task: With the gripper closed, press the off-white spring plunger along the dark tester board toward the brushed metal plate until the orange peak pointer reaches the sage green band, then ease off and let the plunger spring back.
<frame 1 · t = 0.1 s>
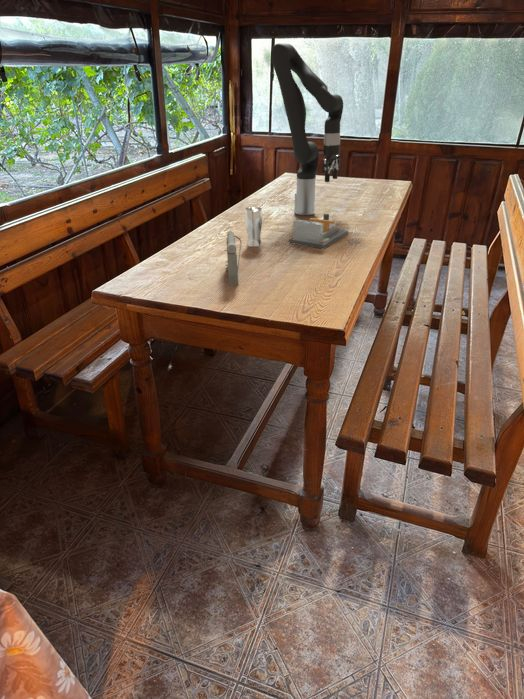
hand: (331, 180, 234), 17 cm above the table, tool pointing down, fingers open, 8 cm apart
tester base: (319, 238, 213), on the table
brushed metal plate: (308, 231, 202), point 6 cm above the table
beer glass: (254, 245, 206), on the table
peak pointer: (321, 226, 212), point 5 cm above the table, slide at 0.0 cm
geiger counter: (234, 278, 174), on the table
spring plunger: (325, 222, 214), point 5 cm above the table, slide at 0.0 cm
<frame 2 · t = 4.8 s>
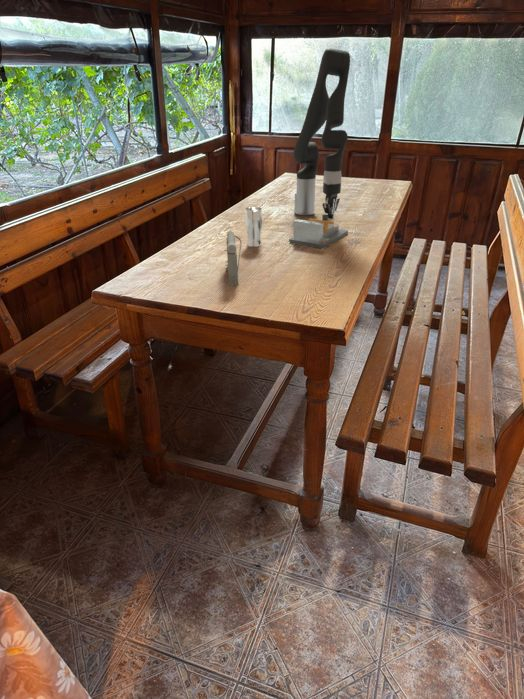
hand: (330, 222, 217), 5 cm above the table, tool pointing down, fingers closed
peak pointer: (321, 226, 211), point 5 cm above the table, slide at 0.9 cm, touching spring plunger
spring plunger: (324, 223, 213), point 5 cm above the table, slide at 1.2 cm, touching gripper, peak pointer
everything else where it was.
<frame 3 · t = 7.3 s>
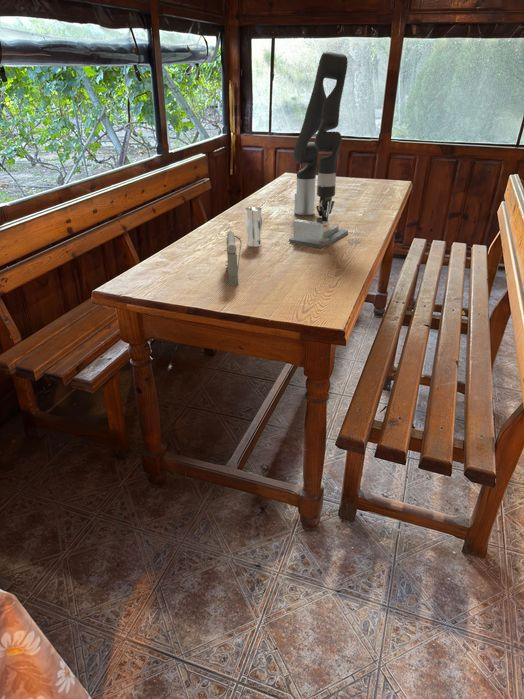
hand: (324, 225, 213), 5 cm above the table, tool pointing down, fingers closed
peak pointer: (314, 230, 207), point 5 cm above the table, slide at 6.9 cm
spring plunger: (319, 226, 210), point 5 cm above the table, slide at 6.5 cm, touching gripper
everything else where it was.
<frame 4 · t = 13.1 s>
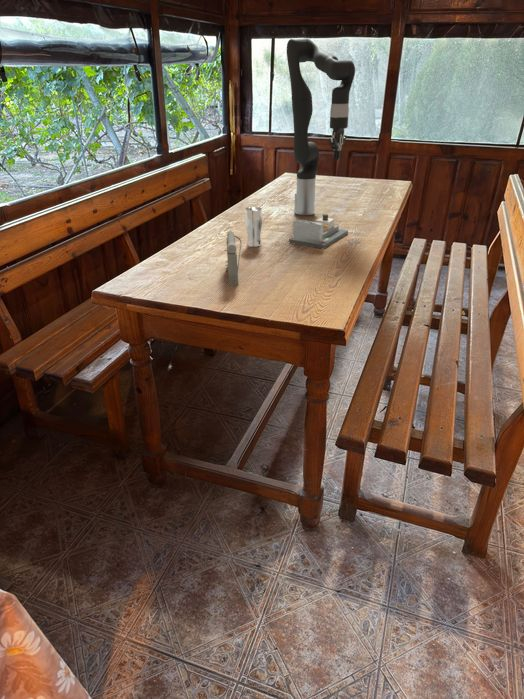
hand: (336, 159, 214), 29 cm above the table, tool pointing down, fingers closed
spring plunger: (325, 223, 214), point 5 cm above the table, slide at 0.9 cm
everything else where it was.
at the end: peak pointer slide at 6.9 cm; spring plunger slide at 0.9 cm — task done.
